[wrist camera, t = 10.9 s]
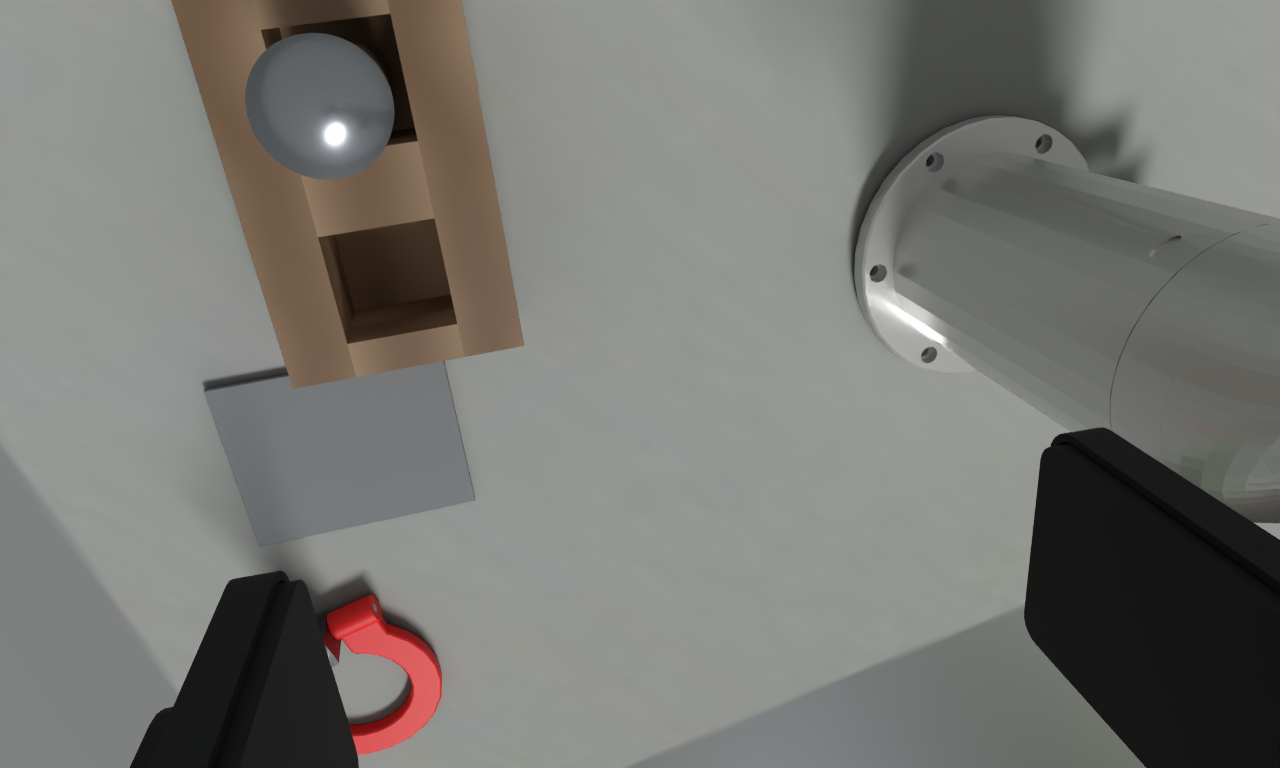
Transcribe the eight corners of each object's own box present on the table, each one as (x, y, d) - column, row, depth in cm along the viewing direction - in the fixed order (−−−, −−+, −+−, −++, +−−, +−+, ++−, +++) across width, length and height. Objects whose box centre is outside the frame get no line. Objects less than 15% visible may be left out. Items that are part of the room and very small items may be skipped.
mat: (440, 345, 39) (440, 348, 38) (474, 497, 42) (474, 500, 42) (205, 388, 37) (203, 391, 37) (260, 542, 40) (259, 546, 40)
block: (450, -35, 33) (453, -41, 29) (513, 310, 39) (524, 345, 35) (201, -6, 31) (168, -8, 27) (307, 348, 37) (292, 388, 33)
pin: (391, 20, 33) (375, 24, 23) (413, 123, 34) (407, 168, 25) (287, 32, 32) (226, 43, 22) (314, 137, 34) (268, 189, 24)
